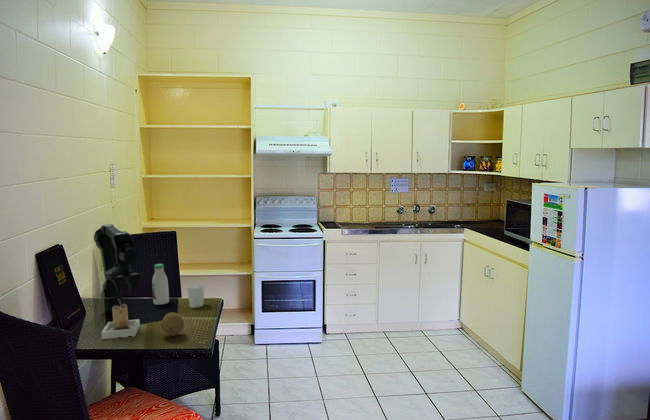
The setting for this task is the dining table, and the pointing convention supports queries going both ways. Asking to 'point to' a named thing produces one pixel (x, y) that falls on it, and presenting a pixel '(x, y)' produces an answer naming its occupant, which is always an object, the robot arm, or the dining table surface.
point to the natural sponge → (172, 323)
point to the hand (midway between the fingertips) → (125, 293)
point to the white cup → (196, 295)
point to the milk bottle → (160, 286)
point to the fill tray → (111, 333)
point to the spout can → (120, 317)
